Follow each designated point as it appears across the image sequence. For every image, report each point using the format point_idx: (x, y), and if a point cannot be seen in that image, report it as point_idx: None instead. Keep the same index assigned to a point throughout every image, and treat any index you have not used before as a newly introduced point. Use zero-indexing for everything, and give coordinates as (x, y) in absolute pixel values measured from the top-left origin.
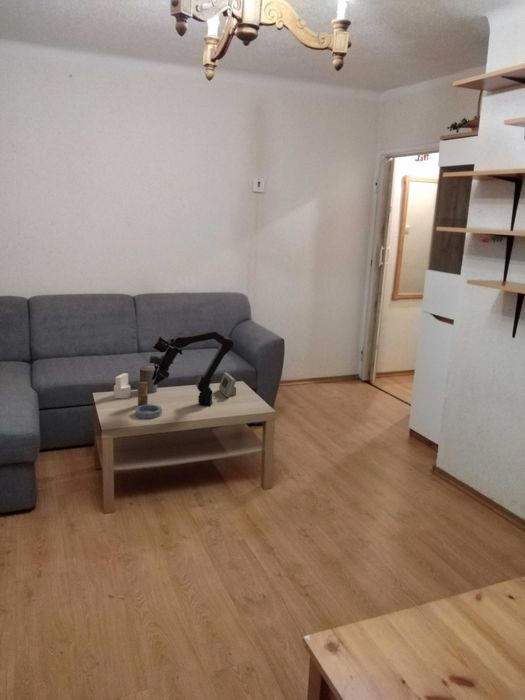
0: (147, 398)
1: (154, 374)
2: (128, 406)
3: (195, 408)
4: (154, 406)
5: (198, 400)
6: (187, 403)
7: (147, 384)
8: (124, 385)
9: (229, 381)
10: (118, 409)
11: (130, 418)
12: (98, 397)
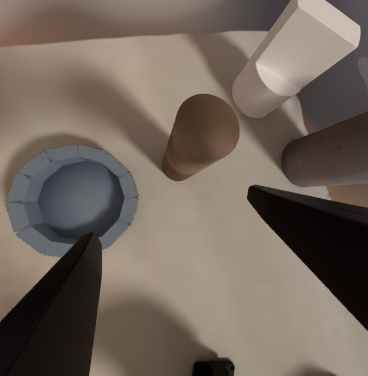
0: (184, 177)
1: (296, 213)
2: (166, 120)
3: (161, 362)
4: (120, 217)
5: (212, 373)
6: (211, 313)
7: (312, 155)
8: (281, 72)
9: None
10: (134, 91)
11: (33, 140)
12: (236, 31)
